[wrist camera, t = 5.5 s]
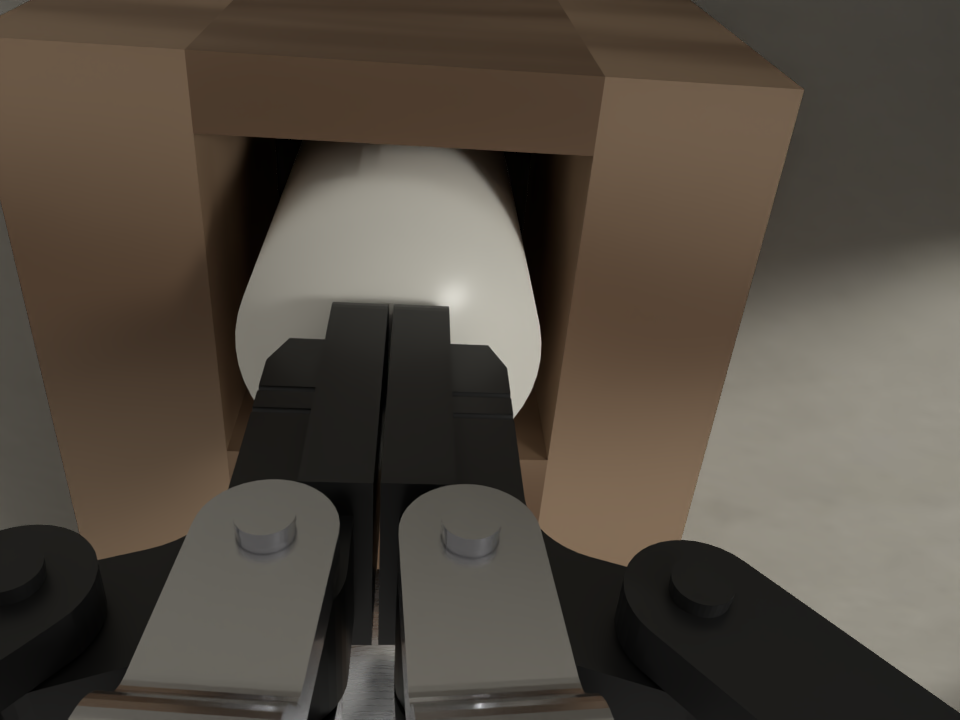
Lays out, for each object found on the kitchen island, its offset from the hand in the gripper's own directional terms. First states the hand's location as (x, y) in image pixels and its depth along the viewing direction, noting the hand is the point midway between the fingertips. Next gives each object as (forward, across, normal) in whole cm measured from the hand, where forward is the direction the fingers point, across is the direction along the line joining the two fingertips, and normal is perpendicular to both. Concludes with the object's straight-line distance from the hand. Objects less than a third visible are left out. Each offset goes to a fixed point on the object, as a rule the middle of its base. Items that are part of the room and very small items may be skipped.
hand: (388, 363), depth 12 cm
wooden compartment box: (+7, 0, +7) cm, 10 cm away
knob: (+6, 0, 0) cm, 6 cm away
